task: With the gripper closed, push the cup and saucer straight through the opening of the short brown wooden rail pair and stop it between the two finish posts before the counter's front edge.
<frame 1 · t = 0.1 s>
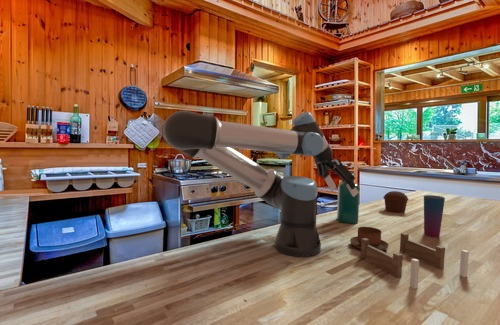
hand: (344, 191, 117), 15 cm above the kitchen island, tool tilted 35°, fingers open, 13 cm apart
muffin: (395, 211, 148), on the kitchen island
brown wooden rail pair: (400, 262, 85), on the kitchen island
cup: (431, 235, 110), on the kitchen island
finish posts: (439, 281, 74), on the kitchen island
cup and saucer: (368, 248, 97), on the kitchen island
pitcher: (347, 220, 129), on the kitchen island
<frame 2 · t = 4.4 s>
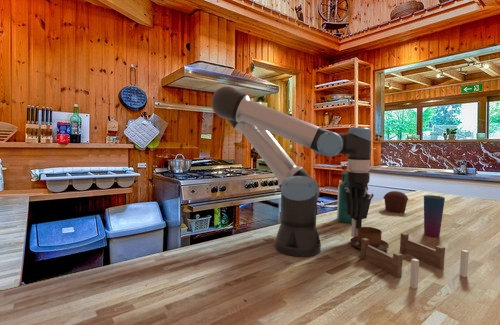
hand: (355, 236, 103), 2 cm above the kitchen island, tool pointing down, fingers closed
cup and saucer: (368, 248, 97), on the kitchen island, touching gripper
everything else where it was.
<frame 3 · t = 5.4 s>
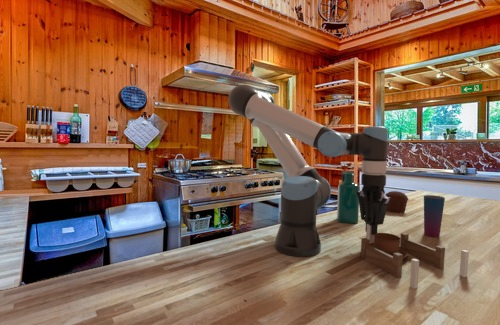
hand: (370, 242, 96), 2 cm above the kitchen island, tool pointing down, fingers closed
cup and saucer: (386, 256, 90), on the kitchen island, touching gripper
everything else where it was.
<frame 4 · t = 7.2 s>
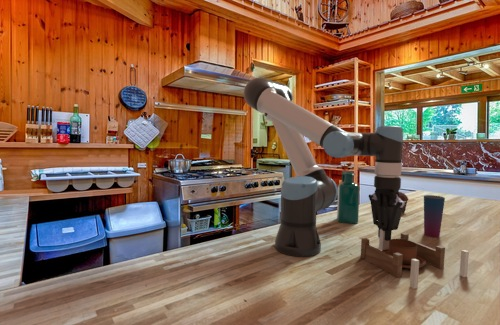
hand: (383, 249, 91), 2 cm above the kitchen island, tool pointing down, fingers closed
cup and saucer: (401, 263, 85), on the kitchen island, touching gripper
everything else where it was.
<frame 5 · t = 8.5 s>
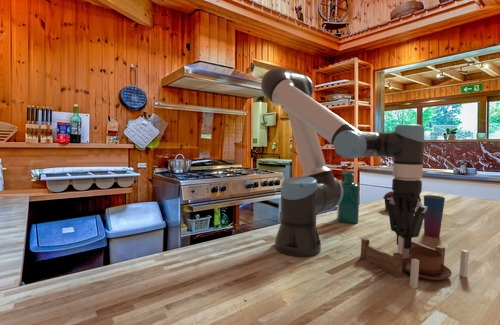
hand: (402, 257, 84), 2 cm above the kitchen island, tool pointing down, fingers closed
cup and saucer: (424, 274, 78), on the kitchen island
everything else where it was.
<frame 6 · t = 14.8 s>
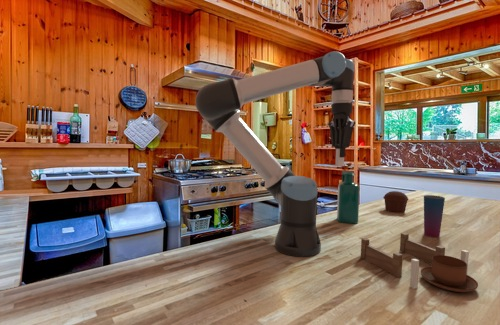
hand: (339, 165, 109), 26 cm above the kitchen island, tool pointing down, fingers closed
cup and saucer: (447, 285, 73), on the kitchen island
everything else where it was.
at the end: cup and saucer inside the target area (2.2 cm from its centre), on the kitchen island; cup and saucer tilted 0° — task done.
